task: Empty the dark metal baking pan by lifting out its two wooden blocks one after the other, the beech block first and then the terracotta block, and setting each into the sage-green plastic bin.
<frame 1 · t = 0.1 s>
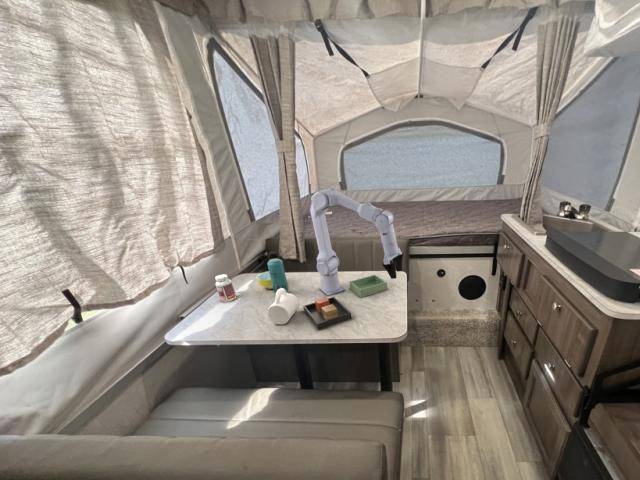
hand: (396, 274, 128), 11 cm above the table, tool pointing down, fingers open, 7 cm apart
beverage bottle: (282, 295, 141), on the table
pill bottle: (229, 299, 139), on the table
beech block: (330, 317, 119), resting on pan
bowl: (272, 287, 149), on the table
pan: (327, 314, 122), on the table
mug: (286, 317, 122), on the table
terracotta block: (323, 309, 125), resting on pan
bin: (368, 288, 142), on the table
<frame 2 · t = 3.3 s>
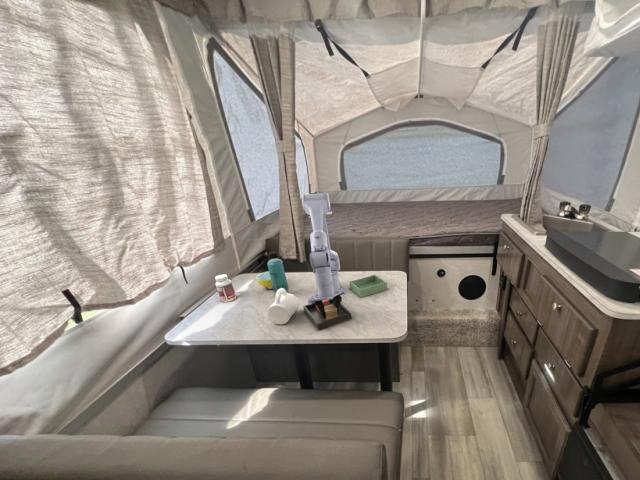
hand: (330, 315, 118), 2 cm above the table, tool pointing down, fingers closed on beech block, 4 cm apart
beech block: (330, 317, 119), resting on pan, touching gripper
everything else where it was.
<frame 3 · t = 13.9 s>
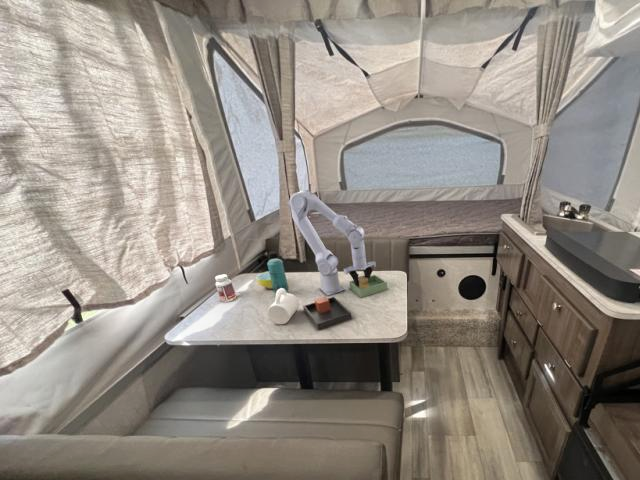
hand: (362, 284, 139), 3 cm above the table, tool pointing down, fingers closed on beech block, 4 cm apart
beech block: (362, 287, 139), point 2 cm above the table, touching gripper
everything else where it was.
when the fingers open (5 cm above the table, at t = 18.7 s): beech block drops 3 cm, resting on bin.
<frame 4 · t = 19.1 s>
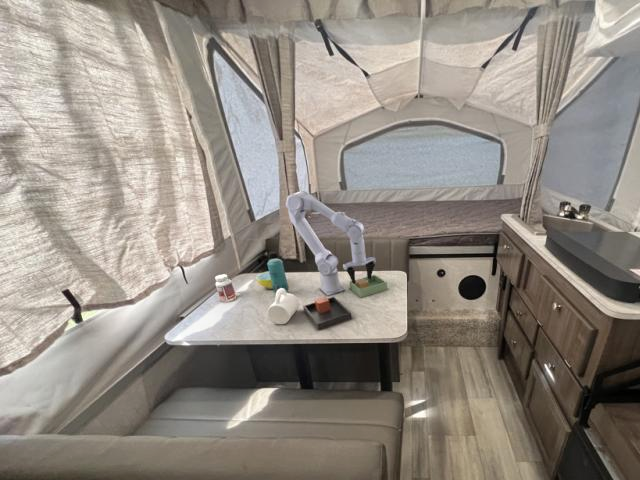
hand: (361, 280, 138), 5 cm above the table, tool pointing down, fingers open, 7 cm apart
beech block: (362, 289, 140), resting on bin
everything else where it was.
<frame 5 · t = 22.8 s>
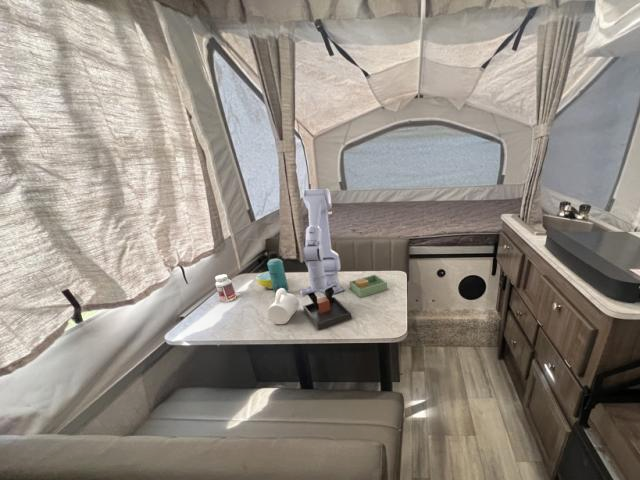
hand: (323, 307, 125), 2 cm above the table, tool pointing down, fingers closed on terracotta block, 4 cm apart
terracotta block: (323, 309, 125), resting on pan, touching gripper
everything else where it was.
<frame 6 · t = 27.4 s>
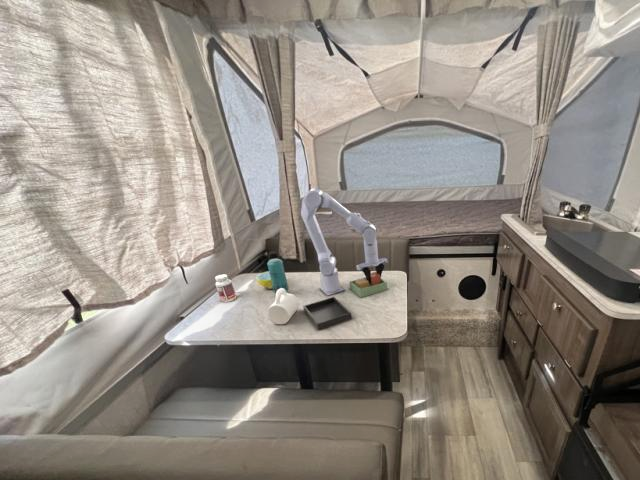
hand: (374, 281, 141), 3 cm above the table, tool pointing down, fingers closed on terracotta block, 4 cm apart
terracotta block: (374, 283, 142), point 2 cm above the table, touching gripper
everything else where it was.
when the fingers open (5 cm above the table, at t = 37.1 s): terracotta block drops 3 cm, resting on bin.
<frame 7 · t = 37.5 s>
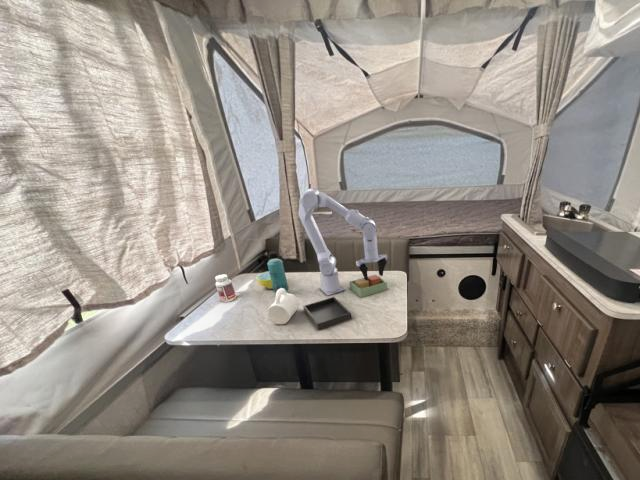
hand: (373, 277, 141), 5 cm above the table, tool pointing down, fingers open, 7 cm apart
terracotta block: (374, 286, 143), resting on bin
everything else where it was.
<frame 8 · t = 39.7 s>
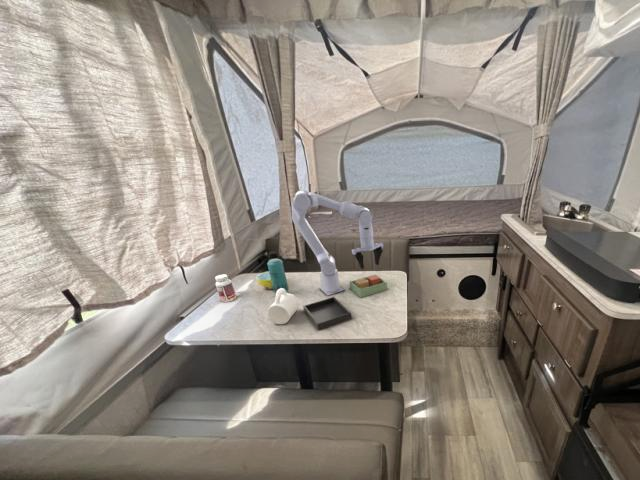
hand: (369, 266, 141), 9 cm above the table, tool pointing down, fingers open, 7 cm apart
nothing on the table moved.
at the end: beech block inside the target area in the bin (3.0 cm from its centre), point 0.5 cm above the bin's base; terracotta block inside the target area in the bin (3.0 cm from its centre), point 0.5 cm above the bin's base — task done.
